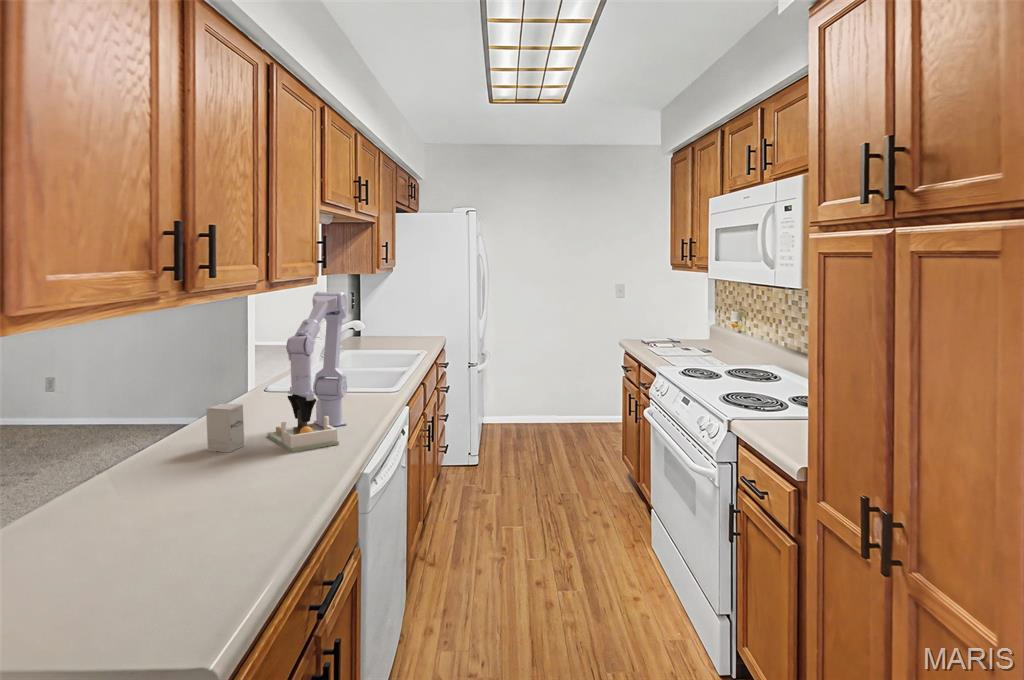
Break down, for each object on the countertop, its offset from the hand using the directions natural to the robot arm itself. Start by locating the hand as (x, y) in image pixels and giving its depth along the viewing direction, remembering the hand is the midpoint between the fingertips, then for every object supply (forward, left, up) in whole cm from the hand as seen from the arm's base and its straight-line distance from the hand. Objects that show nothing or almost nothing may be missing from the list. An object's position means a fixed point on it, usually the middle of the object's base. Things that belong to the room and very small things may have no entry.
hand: (302, 420), depth 207 cm
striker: (0, 0, -5) cm, 5 cm away
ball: (+3, 0, -3) cm, 5 cm away
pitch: (-2, 0, -6) cm, 7 cm away
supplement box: (-5, -21, -7) cm, 22 cm away
